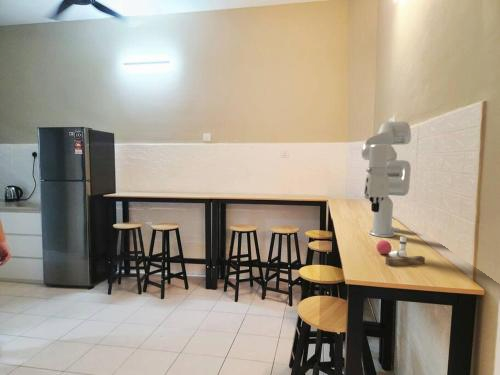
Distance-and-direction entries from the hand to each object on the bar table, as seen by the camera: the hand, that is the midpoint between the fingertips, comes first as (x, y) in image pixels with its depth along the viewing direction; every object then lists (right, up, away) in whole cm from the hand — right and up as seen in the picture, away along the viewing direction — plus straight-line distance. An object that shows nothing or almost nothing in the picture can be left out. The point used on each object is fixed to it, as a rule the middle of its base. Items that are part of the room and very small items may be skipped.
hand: (375, 211), depth 144 cm
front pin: (+2, -17, -12) cm, 21 cm away
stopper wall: (+4, -19, -20) cm, 28 cm away
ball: (+1, -15, -8) cm, 17 cm away
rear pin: (+6, -19, -13) cm, 23 cm away
